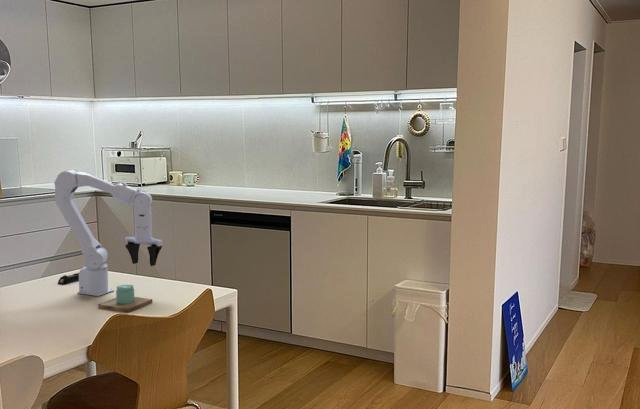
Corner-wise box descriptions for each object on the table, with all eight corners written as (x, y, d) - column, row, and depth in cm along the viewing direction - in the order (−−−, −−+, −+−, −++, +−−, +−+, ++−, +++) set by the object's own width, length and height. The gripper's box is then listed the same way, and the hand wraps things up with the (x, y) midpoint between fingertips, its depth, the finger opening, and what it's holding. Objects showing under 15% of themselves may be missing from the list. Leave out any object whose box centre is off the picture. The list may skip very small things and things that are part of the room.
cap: (120, 304, 194) (120, 289, 194) (114, 300, 198) (114, 286, 198) (136, 302, 197) (135, 287, 197) (130, 298, 202) (130, 283, 201)
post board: (98, 307, 195) (97, 293, 194) (123, 298, 206) (123, 284, 205) (128, 312, 190) (128, 298, 190) (152, 302, 201) (152, 288, 201)
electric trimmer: (97, 277, 235) (97, 269, 235) (64, 285, 222) (63, 277, 222) (91, 276, 237) (91, 268, 237) (57, 284, 224) (57, 275, 223)
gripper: (118, 226, 211) (119, 264, 212) (153, 229, 205) (153, 268, 207) (132, 223, 217) (133, 260, 219) (165, 226, 212) (166, 264, 213)
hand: (144, 264), depth 213 cm, fingers open, 7 cm apart
